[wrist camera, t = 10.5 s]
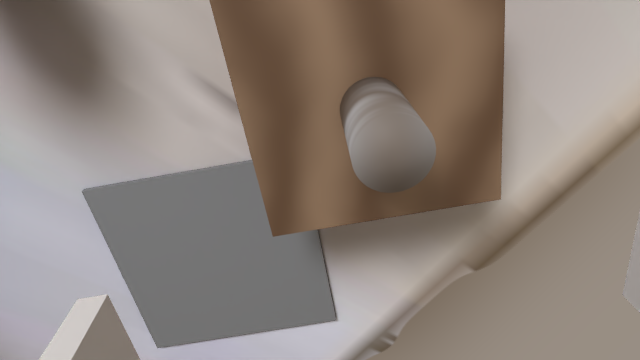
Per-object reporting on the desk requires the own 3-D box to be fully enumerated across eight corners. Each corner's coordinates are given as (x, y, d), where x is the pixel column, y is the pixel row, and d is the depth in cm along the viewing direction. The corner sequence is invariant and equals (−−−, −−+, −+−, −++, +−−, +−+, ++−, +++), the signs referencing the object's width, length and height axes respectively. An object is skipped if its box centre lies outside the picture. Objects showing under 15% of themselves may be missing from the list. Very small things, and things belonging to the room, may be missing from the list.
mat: (158, 344, 46) (157, 348, 46) (84, 189, 38) (82, 191, 37) (335, 316, 45) (336, 320, 45) (301, 151, 37) (301, 153, 36)
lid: (273, 227, 32) (265, 308, 25) (211, -8, 25) (173, 7, 17) (493, 190, 31) (552, 262, 24) (497, -63, 24) (583, -71, 17)
